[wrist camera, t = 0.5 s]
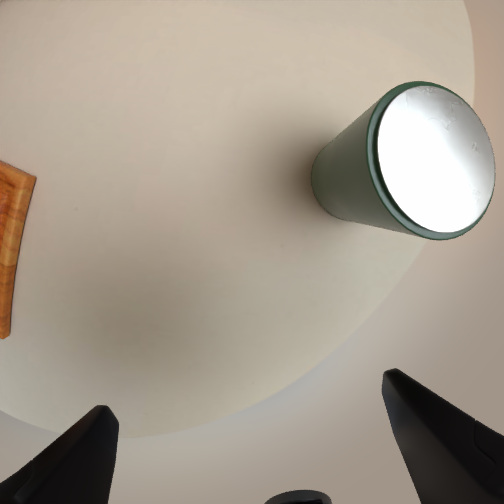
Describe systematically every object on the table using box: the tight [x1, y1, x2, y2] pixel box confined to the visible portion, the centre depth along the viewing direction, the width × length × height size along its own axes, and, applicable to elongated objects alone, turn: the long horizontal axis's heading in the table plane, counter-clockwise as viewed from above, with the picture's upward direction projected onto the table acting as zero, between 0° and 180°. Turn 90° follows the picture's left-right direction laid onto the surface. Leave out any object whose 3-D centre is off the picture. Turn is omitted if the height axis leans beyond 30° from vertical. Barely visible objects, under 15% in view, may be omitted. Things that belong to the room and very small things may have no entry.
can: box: [311, 81, 495, 240], centre depth 15 cm, size 6×6×12 cm
